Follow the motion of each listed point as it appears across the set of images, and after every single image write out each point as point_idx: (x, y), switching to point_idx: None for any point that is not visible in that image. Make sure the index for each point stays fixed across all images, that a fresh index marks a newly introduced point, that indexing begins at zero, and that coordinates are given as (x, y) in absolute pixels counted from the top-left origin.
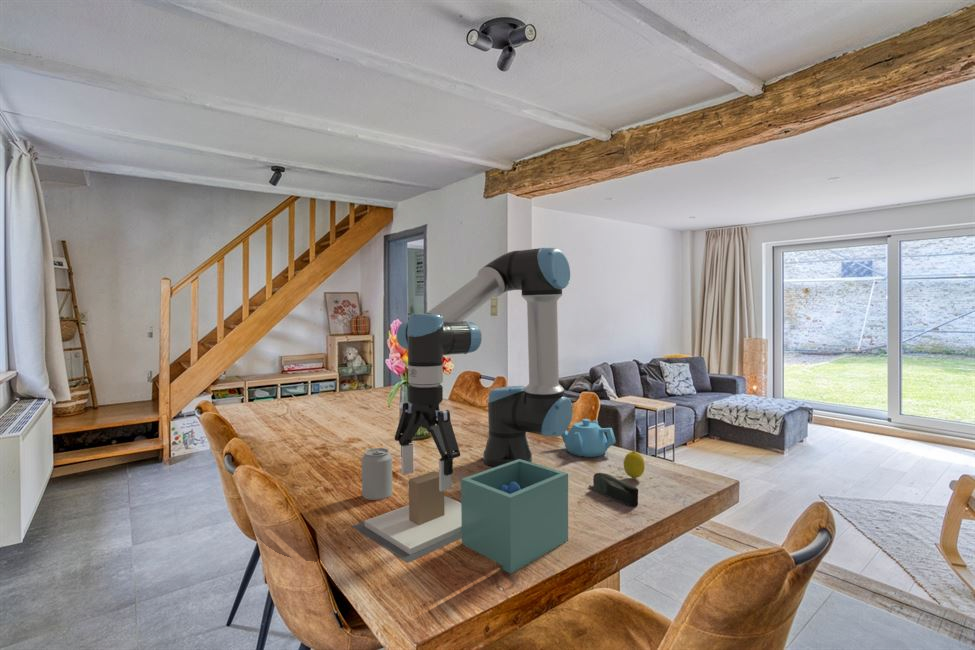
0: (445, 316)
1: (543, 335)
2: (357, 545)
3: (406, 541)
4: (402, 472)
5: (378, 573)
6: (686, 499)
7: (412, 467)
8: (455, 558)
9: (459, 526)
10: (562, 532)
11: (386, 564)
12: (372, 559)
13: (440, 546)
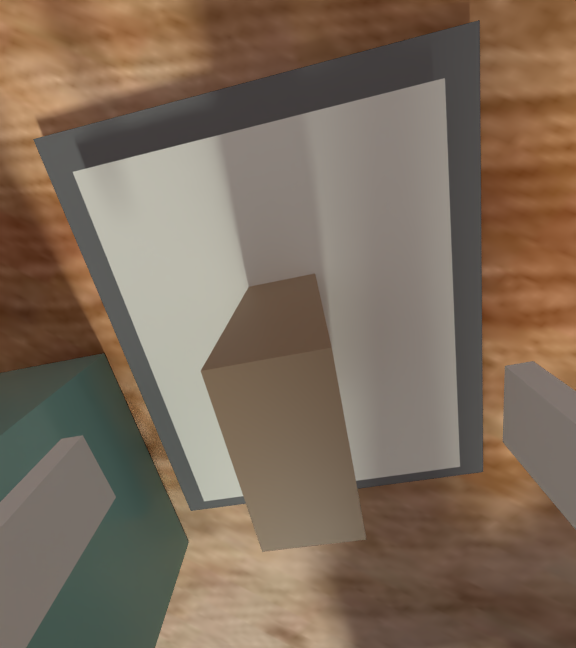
0: None
1: None
2: (304, 3)
3: (136, 183)
4: (533, 373)
5: (35, 9)
6: None
7: (528, 466)
8: (48, 307)
9: (167, 399)
10: None
11: (92, 70)
12: (153, 27)
13: (106, 295)
